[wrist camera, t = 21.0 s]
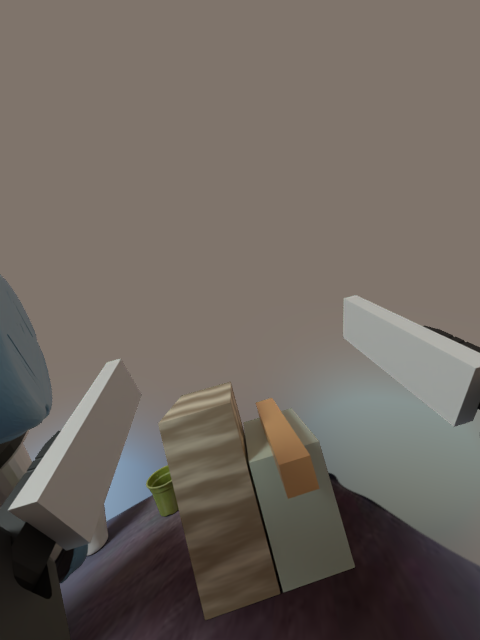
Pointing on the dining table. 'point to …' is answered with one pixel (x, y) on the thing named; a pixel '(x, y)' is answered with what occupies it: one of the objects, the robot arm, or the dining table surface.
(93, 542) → the drinking glass
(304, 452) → the orange bar
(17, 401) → the robot arm
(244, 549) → the tall stand
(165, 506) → the plant pot
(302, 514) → the sage green pillar
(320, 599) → the dining table surface
